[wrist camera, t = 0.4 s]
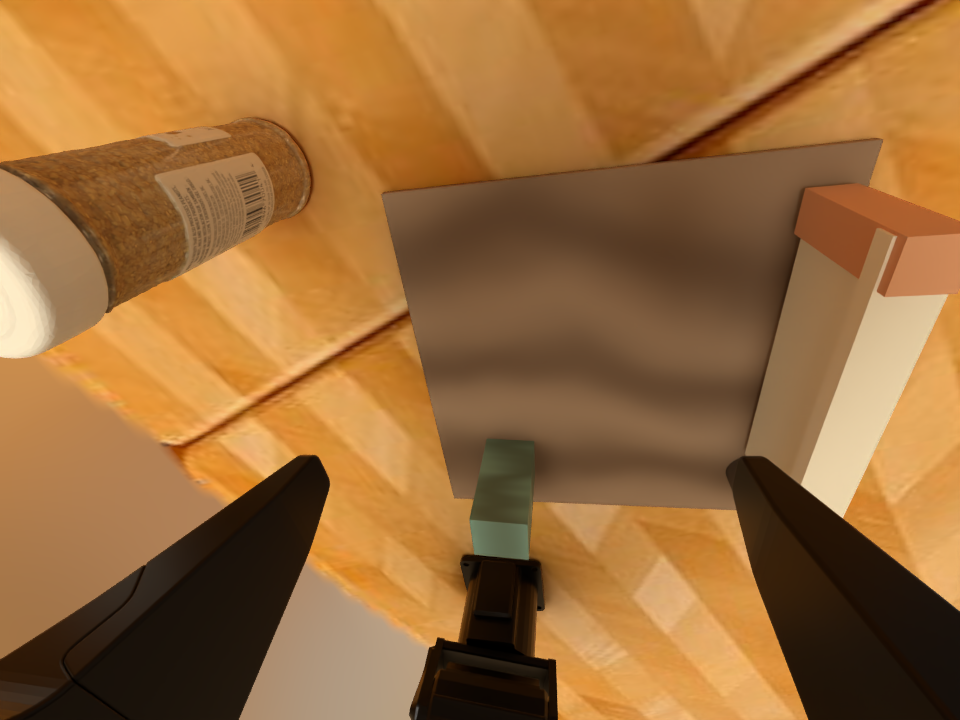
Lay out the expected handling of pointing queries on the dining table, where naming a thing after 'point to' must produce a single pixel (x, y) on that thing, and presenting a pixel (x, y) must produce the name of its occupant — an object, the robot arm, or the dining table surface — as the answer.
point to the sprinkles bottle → (132, 220)
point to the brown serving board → (604, 325)
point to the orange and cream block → (850, 332)
